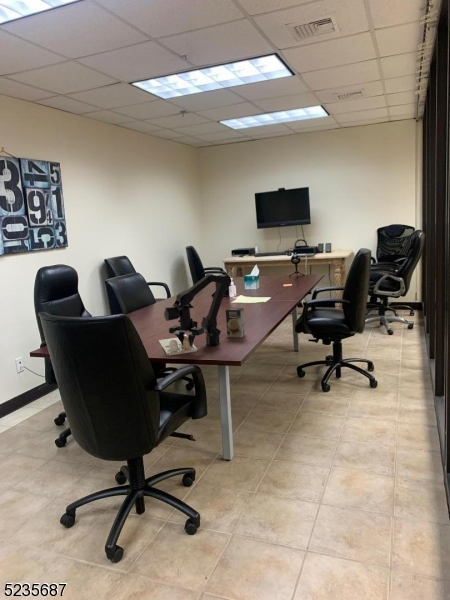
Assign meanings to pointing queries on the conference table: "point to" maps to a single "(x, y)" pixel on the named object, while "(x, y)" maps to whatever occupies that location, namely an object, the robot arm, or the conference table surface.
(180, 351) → the egg carton
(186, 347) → the brown egg
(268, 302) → the conference table surface
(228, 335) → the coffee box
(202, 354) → the conference table surface
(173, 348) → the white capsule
